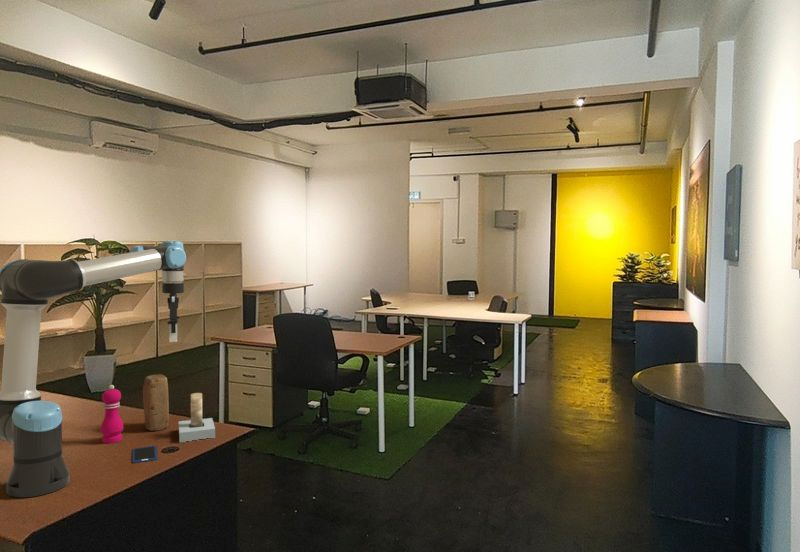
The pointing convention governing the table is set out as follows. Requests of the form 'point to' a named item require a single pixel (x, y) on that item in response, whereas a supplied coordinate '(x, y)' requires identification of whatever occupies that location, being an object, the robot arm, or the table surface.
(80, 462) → the table surface
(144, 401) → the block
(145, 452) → the cell phone
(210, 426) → the board
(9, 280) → the robot arm
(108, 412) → the pepper mill
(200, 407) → the peg
